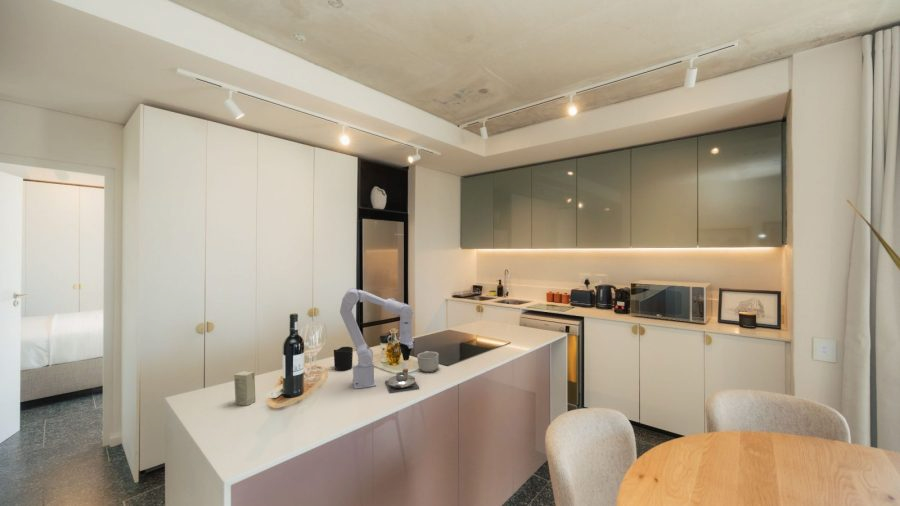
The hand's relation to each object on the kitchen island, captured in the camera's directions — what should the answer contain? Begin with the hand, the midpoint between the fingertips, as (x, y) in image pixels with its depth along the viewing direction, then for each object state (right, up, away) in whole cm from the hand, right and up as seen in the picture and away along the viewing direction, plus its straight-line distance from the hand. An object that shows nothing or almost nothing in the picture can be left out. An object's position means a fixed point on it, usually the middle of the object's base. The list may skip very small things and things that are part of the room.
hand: (406, 360), depth 165 cm
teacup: (+9, -10, +16) cm, 21 cm away
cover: (-1, -7, -6) cm, 9 cm away
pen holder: (-35, -10, +18) cm, 40 cm away
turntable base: (-1, -10, -5) cm, 11 cm away
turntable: (-1, -8, -4) cm, 10 cm away
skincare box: (-62, -11, -22) cm, 67 cm away
